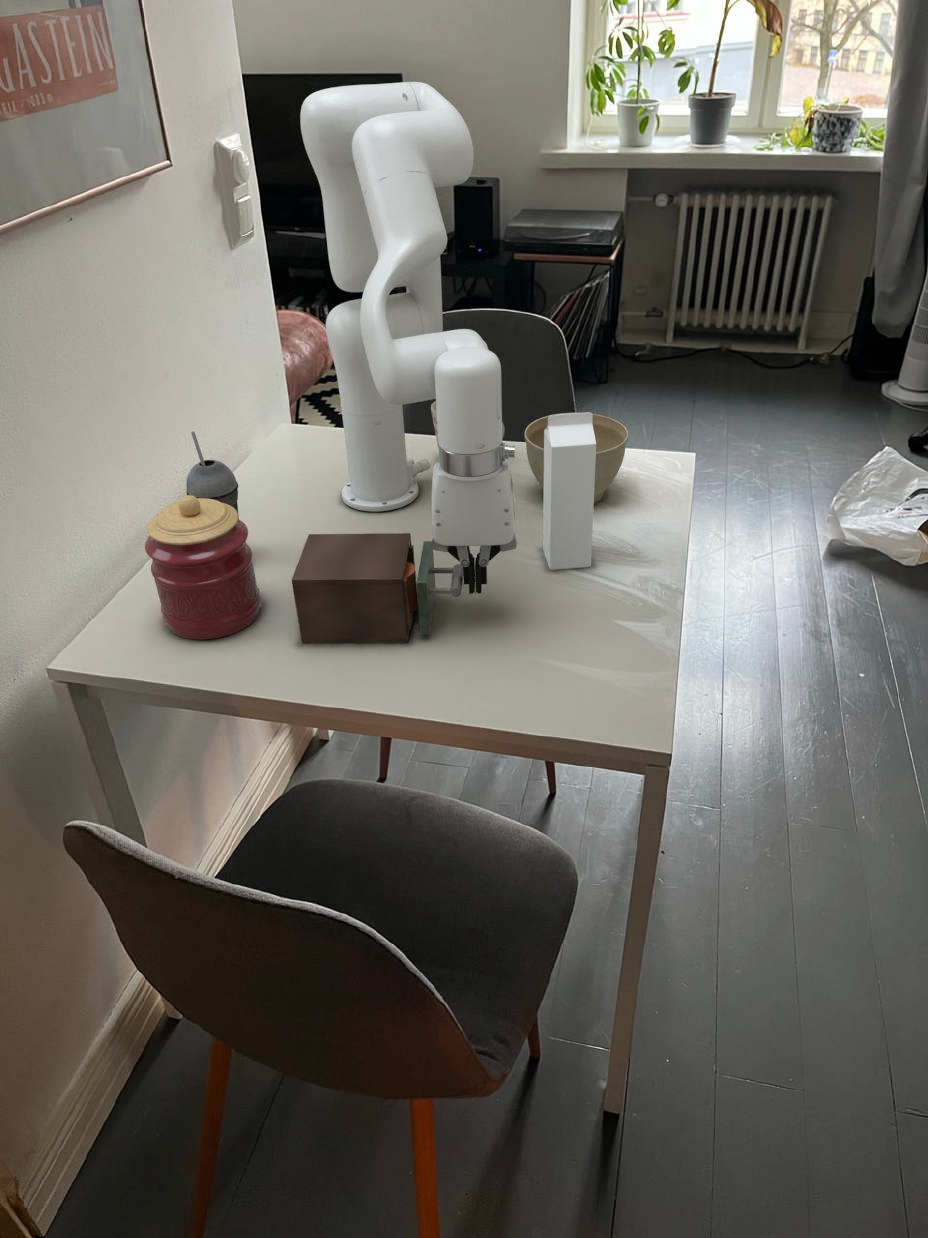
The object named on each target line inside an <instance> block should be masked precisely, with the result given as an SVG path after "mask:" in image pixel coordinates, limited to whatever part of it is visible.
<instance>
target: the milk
mask: <svg viewBox="0 0 928 1238" xmlns="http://www.w3.org/2000/svg"><path fill="white" fill-rule="evenodd" d="M572 413H573V414H561V413H559V414H560V415H554V414H550V415H548V416H549V417H548V427H547V428H546V429H545V430H544V489H543V501H542V502H543V506H542V507H543V509H542V510H543V511H542V513H543V515H542V519H543V520H542V522H543V523H542V551H543V554H544V557H545V560H546V563H547V565H548V569H549V571H556V570H557V571H558V570H559V571H560V570H569V569H570V570H571V569H581V568H591V567H592V549H593V527H594V504H595V503H594V483H595V460H596V440H595V434H594V429H593V424H592V418H593V415H592V414H593V413H592V412H589V411H587V412H572Z"/></svg>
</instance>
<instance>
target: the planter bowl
mask: <svg viewBox="0 0 928 1238" xmlns="http://www.w3.org/2000/svg"><path fill="white" fill-rule="evenodd" d="M573 413H574V412H563V413H561V412H560V413H555V414H553V415H560V414H573ZM592 415H593V418H592V424H593V429H594V434H595V440H596V460H595V483H594V504H595V503H597V502H599V501H600V500H601V499H602V498H603V497H604V493H605V491H606V489H607V488H609V486H610V485H611V484H612V483H613V481H614V480H615V478H616V477H617V475H618V473H619V471H620V469H621V467H622V464H623V462H624V459H625V454H626V453H625V452H626V446H627V444H628V440H629V431H628V429H627V428H626V426H625V425H624V424H623V423H621V422H619V420H616V419H614V418H612V417H609V416H606V415H605V416H604V415H601V414H596V413H592ZM549 416H550V415H546V416H543V417H540V418H538V419H536V420H534V421H532V422H530V423H529V424H528V425H527V426H526V428H525V430H524V434H523V435H524V441H525V445H526V446H525V447H526V457H527V461H528V465H529V467H530V470H531V472H532V474H533V476H534V478H535V480H536V482H538V484H539V485H540V487H541V488H542V489H543V490H544V430H545V429H546V428H547V427H548V417H549Z"/></svg>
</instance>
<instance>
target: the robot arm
mask: <svg viewBox="0 0 928 1238" xmlns="http://www.w3.org/2000/svg"><path fill="white" fill-rule="evenodd" d="M299 117H300V118H299V119H300V121H299V122H300V133H301V137H302V142H303V145H304V149H305V151H306V154H307V157H308V159H309V161H310V164H311V166H312V169H313V172H314V174H315V175H316V178H317V181H318V184H319V187H320V191H321V197H322V198H321V199H322V207H323V216H324V217H323V218H324V227H325V237H326V244H327V254H328V262H329V268H330V273H331V276H332V280H333V282H334V283H335V286H337V287H338V289H340V290H342V291H345V292H348V293H362V297H361V298H357V299H353V300H348V301H345V302H342V303H339V304H338V305H336V306H334V307H333V308H332V309H331V310H330V311H329V313H328V315H327V316H326V320H325V333H326V338H327V342H328V346H329V350H330V353H331V357H332V361H333V364H334V369H335V373H336V374H335V375H336V379H337V386H338V392H339V401H340V408H341V414H342V416H341V417H342V425H343V433H344V441H345V451H346V460H347V467H348V477H349V481H348V482H347V483H346V484H344V486H342V489H341V498H342V501H343V502H344V504H346V505H347V506H348V507H350V508H352V509H355V510H358V511H362V512H387V511H393V510H396V509H400V508H403V507H406V506H407V505H410V504H411V503H412V502H413V501H415V500H416V498H417V497H418V495H419V485H418V483H417V481H416V480H415V479H414V478H416V477H417V476H418V474H421V473H424V472H426V471H429V470H430V469H431V463H430V460H429V459H427V458H422V459H420V460H418V461H416V462H415V461H414V458H412V457H411V458H410V457H409V458H407V447H406V434H405V422H404V421H405V420H404V409H403V407H404V406H403V405H409V404H415V403H420V402H421V403H422V402H425V401H432V400H435V401H436V410H437V428H438V443H439V444H437V447H438V446H439V449H438V461H437V462H435V463H434V466H433V471H432V480H431V532H432V533H431V535H432V539H431V541H432V545H431V548H432V549H433V551H436V552H441V553H448V554H449V555H451V556H452V557H453V559H455V560H457V561H458V562H459V564H460V565H461V566H463V585H464V586H465V585H466V586H467V585H468V594H470V595H474V594H475V593H477V594H479V595H480V594H482V589H483V585H488V565H489V563H490V561H492V560H493V559H494V558H495V557H496V556H497V555H499V553H501V552H502V553H503V552H509V551H512V550H515V549H517V546H518V540H517V537H516V534H515V519H516V518H515V517H516V515H515V498H514V497H515V496H514V484H513V479H512V478H513V477H512V471H511V467H510V464H509V461H507V460H509V458H510V459H511V458H512V459H513V458H515V452H516V451H515V449H516V448H515V445H511V446H510V445H509V444H506V442H503V438H502V422H503V400H502V399H503V397H502V394H503V393H502V365H501V361H500V358H499V357H498V356H497V354H496V353H495V352H493V351H491V350H489V347H488V344H487V343H486V342H485V340H483V338H482V337H481V335H480V334H479V333H478V332H477V331H475V330H473V329H470V328H458V329H451V330H446V331H445V330H444V323H443V322H444V321H443V294H442V293H443V292H442V291H443V290H442V265H441V255H442V254H443V253H444V252H445V250H446V247H447V246H448V234H447V230H446V227H445V224H444V220H443V216H442V212H441V209H440V204H439V201H438V197H437V193H436V190H435V188H442V187H443V188H445V187H453V186H458V185H462V184H464V183H465V182H466V181H467V180H468V179H469V177H470V176H471V174H472V171H473V168H474V160H475V153H474V145H473V140H472V136H471V134H470V133H471V132H470V130H469V128H468V126H467V123H466V121H465V120H464V118H463V116H462V115H461V114H460V112H459V111H458V109H456V107H455V106H454V105H453V104H452V103H451V102H450V101H449V100H448V99H446V98H445V97H444V96H443V95H442V94H441V93H440V92H439V91H438V90H436V89H435V87H432V86H431V85H430V84H428V83H425V82H421V81H404V82H403V81H401V82H391V83H390V82H389V83H376V84H373V83H372V84H354V85H353V84H352V85H342V86H334V87H329V88H324V89H320V90H317V91H315V92H313V93H310V94H309V95H308V96H307V97H306V98H304V100H303V102H302V104H301V108H300V114H299ZM401 287H405V288H406V292H400V293H394V294H390V293H391V292H392V291H393V290H394V289H395V288H401ZM470 547H479V552H478V553H477V554H476V557H474V555H473V553H471V548H470Z"/></svg>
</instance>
